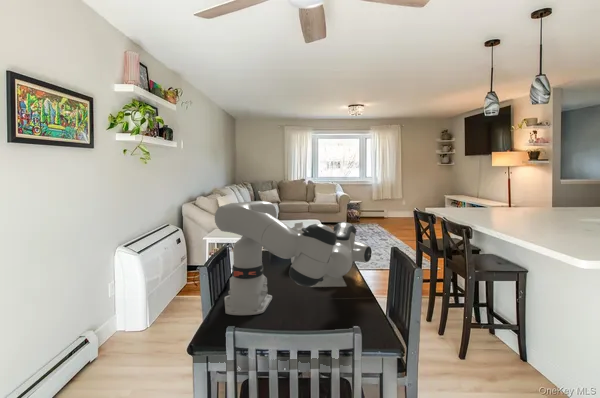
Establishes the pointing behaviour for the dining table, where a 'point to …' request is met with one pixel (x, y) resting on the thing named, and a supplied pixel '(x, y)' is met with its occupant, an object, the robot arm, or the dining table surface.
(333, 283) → the mat
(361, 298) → the dining table surface
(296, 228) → the milk
